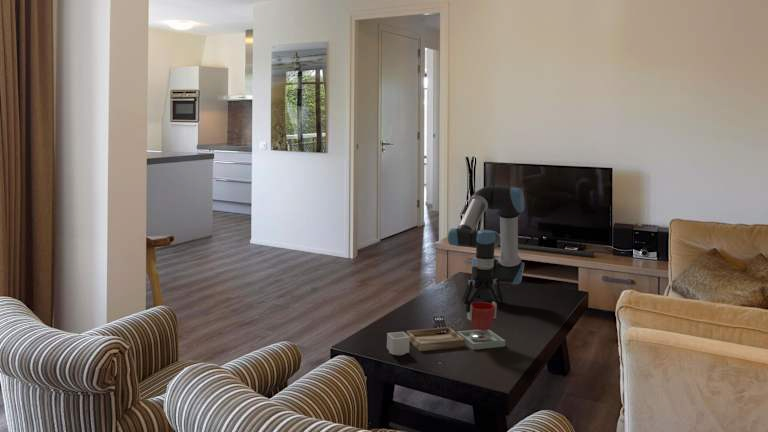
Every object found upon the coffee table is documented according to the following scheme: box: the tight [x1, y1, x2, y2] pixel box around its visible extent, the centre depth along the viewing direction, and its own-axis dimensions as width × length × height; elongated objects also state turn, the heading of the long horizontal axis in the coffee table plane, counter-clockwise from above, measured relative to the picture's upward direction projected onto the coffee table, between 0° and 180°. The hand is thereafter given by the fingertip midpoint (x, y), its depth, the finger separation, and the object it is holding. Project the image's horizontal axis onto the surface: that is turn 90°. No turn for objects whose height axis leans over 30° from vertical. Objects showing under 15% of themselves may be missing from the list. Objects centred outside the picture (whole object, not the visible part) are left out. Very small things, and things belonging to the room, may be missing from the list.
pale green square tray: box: [456, 329, 506, 351], centre depth 251 cm, size 15×15×2 cm
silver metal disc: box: [470, 332, 491, 341], centre depth 251 cm, size 9×9×1 cm
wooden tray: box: [405, 326, 466, 352], centre depth 249 cm, size 16×20×3 cm
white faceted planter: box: [386, 331, 410, 356], centre depth 237 cm, size 7×7×7 cm
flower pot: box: [470, 302, 496, 330], centre depth 249 cm, size 11×11×10 cm
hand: (481, 318), depth 250 cm, fingers closed on flower pot, 11 cm apart
